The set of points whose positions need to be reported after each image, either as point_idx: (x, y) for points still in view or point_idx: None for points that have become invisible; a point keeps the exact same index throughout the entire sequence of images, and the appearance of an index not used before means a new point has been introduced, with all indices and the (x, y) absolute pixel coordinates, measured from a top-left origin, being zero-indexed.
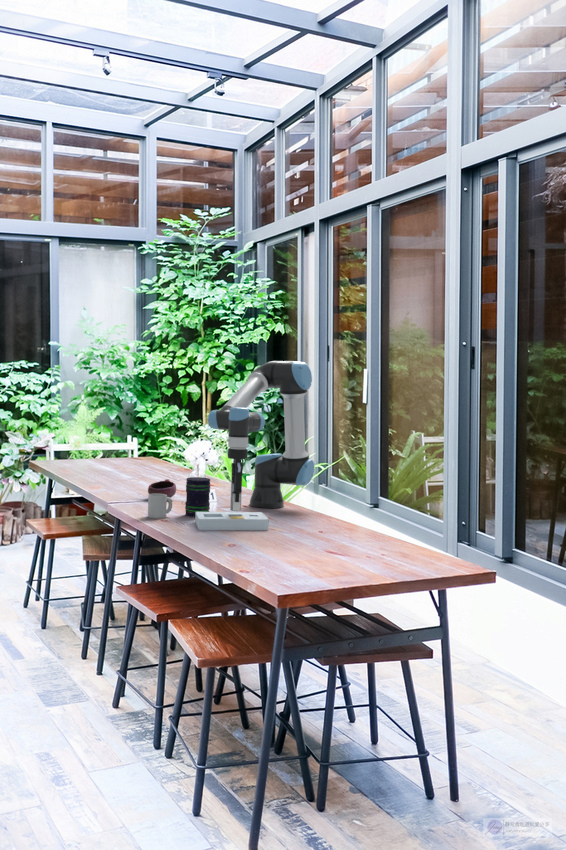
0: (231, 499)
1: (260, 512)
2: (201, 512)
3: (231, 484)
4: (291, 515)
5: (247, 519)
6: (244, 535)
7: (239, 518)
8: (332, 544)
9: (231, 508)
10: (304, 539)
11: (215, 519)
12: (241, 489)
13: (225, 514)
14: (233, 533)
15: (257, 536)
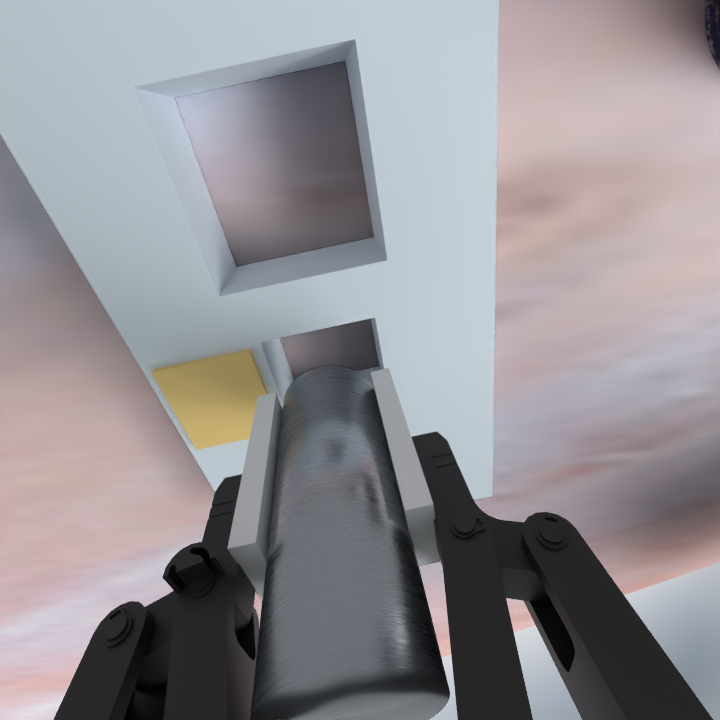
0: (296, 449)
1: (482, 491)
2: (448, 3)
3: (307, 667)
4: (642, 527)
5: (197, 461)
6: (30, 418)
7: (180, 421)
8: (63, 666)
9: (295, 388)
10: (103, 609)
11: (63, 234)
12: (133, 706)
13: (362, 299)
14: (54, 355)
15: (47, 475)
